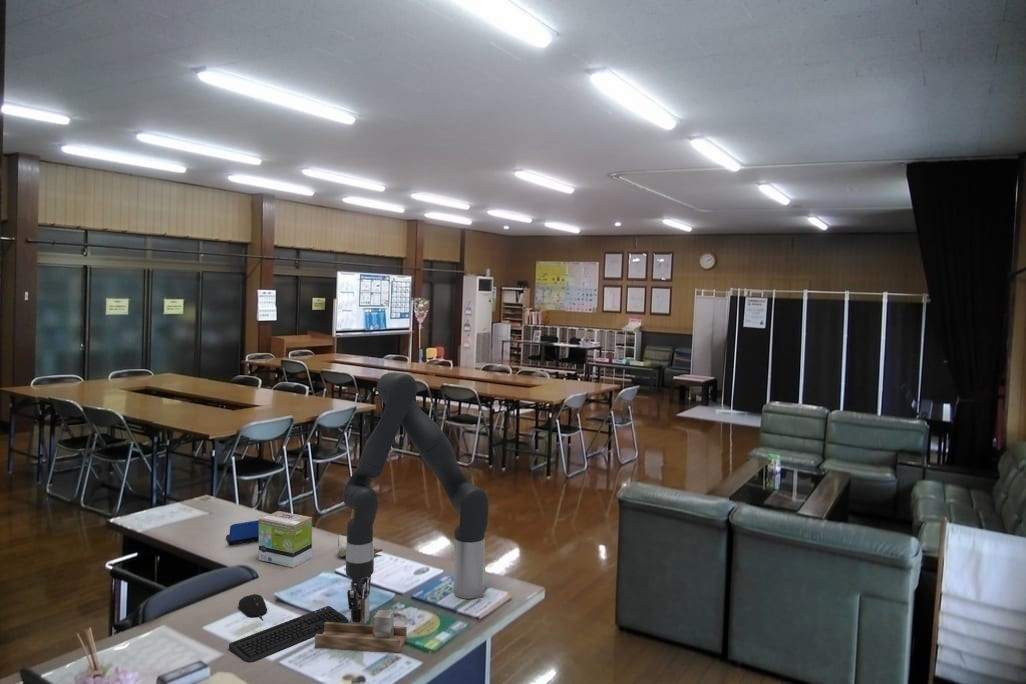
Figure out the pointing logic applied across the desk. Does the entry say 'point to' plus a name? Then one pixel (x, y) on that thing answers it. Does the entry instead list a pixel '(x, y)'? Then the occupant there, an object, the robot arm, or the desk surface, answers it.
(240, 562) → the desk surface
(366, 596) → the gray metallic block
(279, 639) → the keyboard
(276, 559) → the tea box
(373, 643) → the rail
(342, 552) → the ceramic sculpture
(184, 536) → the desk surface
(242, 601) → the gaming mouse
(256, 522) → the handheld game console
